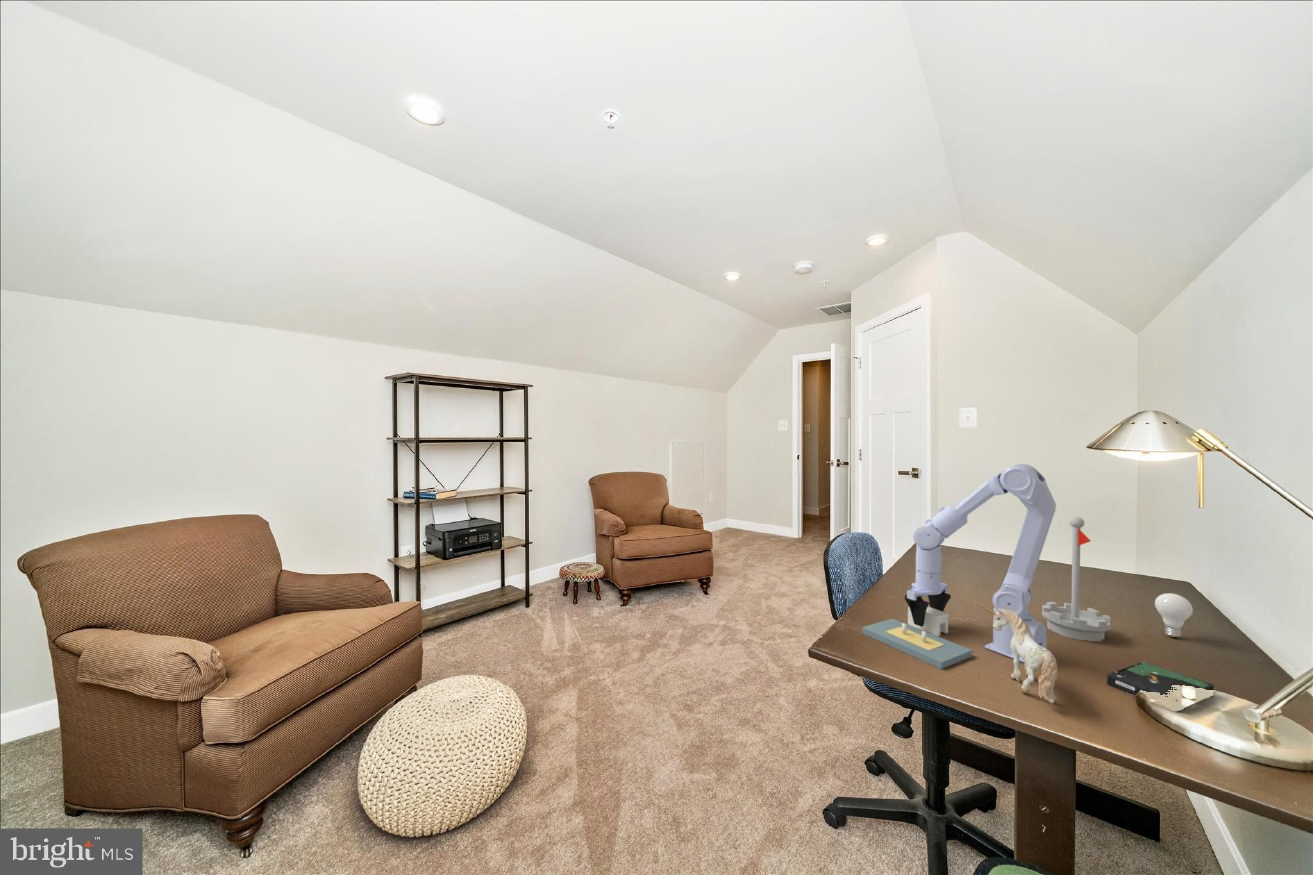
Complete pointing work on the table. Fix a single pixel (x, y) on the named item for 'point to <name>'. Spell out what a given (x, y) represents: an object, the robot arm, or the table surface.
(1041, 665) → the unicorn figurine
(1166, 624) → the lightbulb
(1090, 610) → the flag stand
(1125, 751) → the table surface
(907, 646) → the pin board
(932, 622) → the channel block
